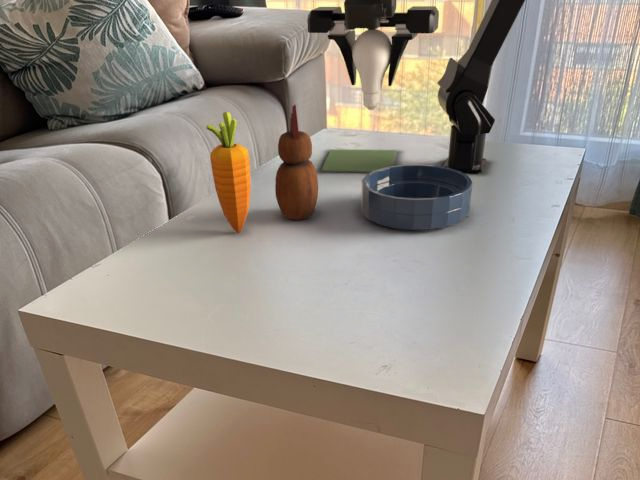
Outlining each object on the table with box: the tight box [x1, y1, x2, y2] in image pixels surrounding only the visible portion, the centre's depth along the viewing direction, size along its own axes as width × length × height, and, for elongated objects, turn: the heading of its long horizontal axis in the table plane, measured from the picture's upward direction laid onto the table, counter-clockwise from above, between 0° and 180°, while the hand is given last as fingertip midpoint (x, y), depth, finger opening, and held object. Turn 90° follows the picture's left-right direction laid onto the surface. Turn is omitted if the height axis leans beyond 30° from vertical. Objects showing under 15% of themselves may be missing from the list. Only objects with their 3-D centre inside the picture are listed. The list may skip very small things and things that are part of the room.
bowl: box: [360, 163, 473, 230], centre depth 90 cm, size 15×15×4 cm
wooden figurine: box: [274, 104, 319, 221], centre depth 87 cm, size 7×6×15 cm
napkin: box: [321, 149, 397, 174], centre depth 111 cm, size 12×12×1 cm
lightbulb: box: [352, 28, 392, 111], centre depth 97 cm, size 6×6×11 cm
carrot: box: [205, 111, 252, 234], centre depth 83 cm, size 5×5×15 cm
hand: (371, 85), depth 99 cm, fingers closed on lightbulb, 5 cm apart
